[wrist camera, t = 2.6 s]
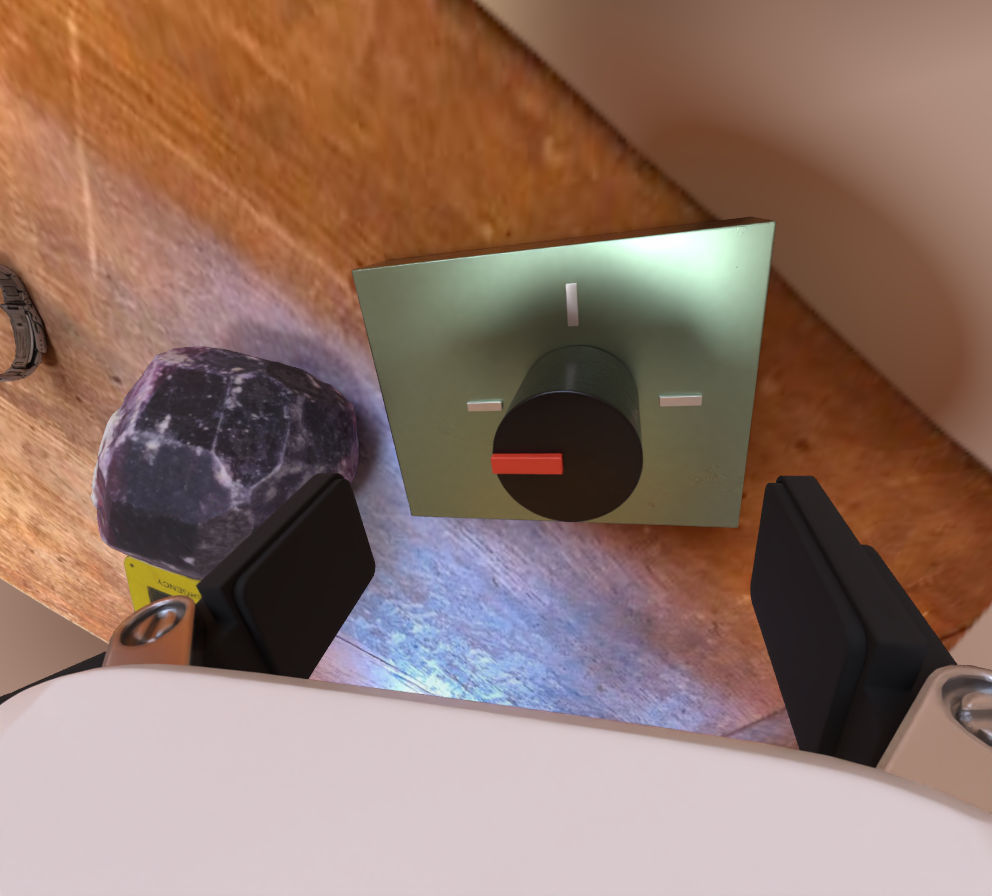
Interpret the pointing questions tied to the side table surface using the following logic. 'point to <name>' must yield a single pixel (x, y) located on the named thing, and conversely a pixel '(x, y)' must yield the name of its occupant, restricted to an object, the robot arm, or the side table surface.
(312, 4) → the side table surface
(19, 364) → the wristwatch
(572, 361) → the knob
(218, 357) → the mineral specimen
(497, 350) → the panel
